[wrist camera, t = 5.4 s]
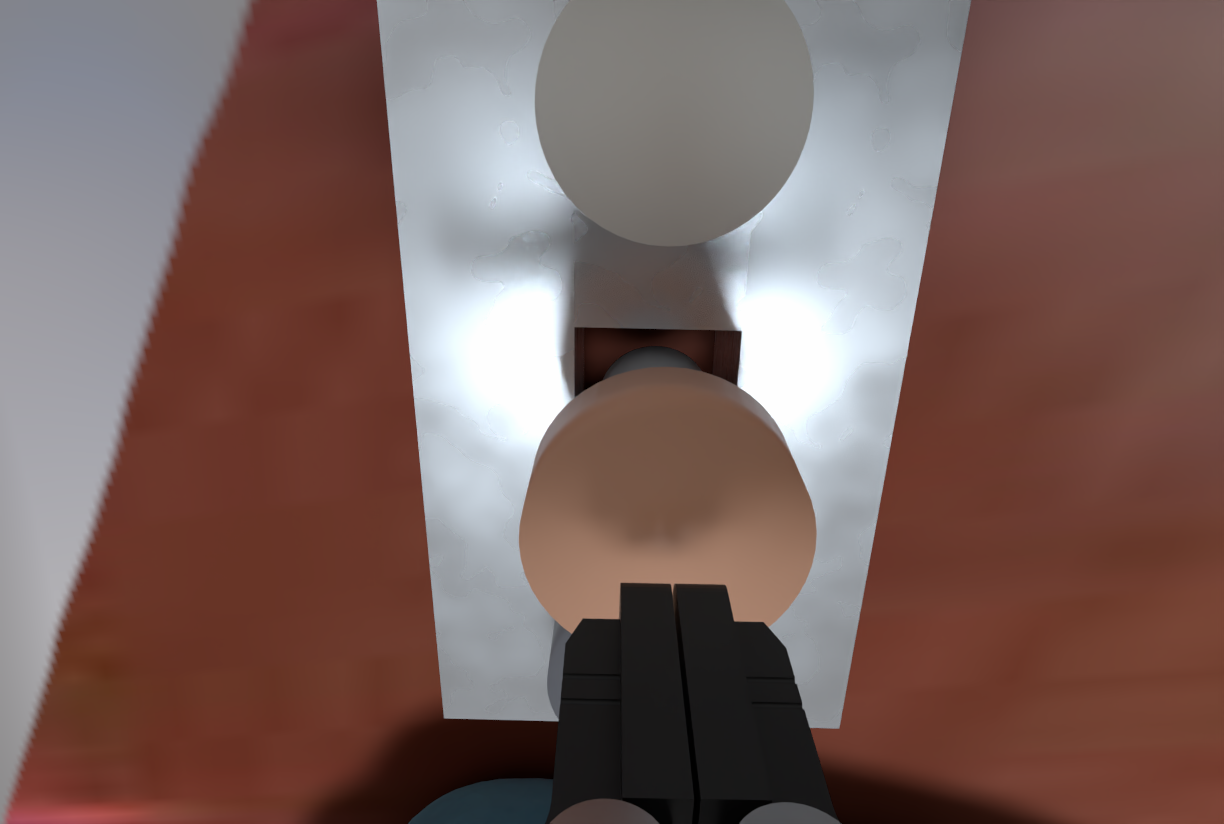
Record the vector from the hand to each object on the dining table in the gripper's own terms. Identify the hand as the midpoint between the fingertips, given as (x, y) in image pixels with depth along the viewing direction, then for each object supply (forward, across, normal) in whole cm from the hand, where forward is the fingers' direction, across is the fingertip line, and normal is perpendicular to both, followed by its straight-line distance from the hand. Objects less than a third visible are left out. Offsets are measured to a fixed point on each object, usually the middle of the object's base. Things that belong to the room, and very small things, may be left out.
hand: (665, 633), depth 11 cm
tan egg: (+9, 0, 0) cm, 9 cm away
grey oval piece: (+13, 0, -7) cm, 14 cm away
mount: (+14, 0, 0) cm, 14 cm away
